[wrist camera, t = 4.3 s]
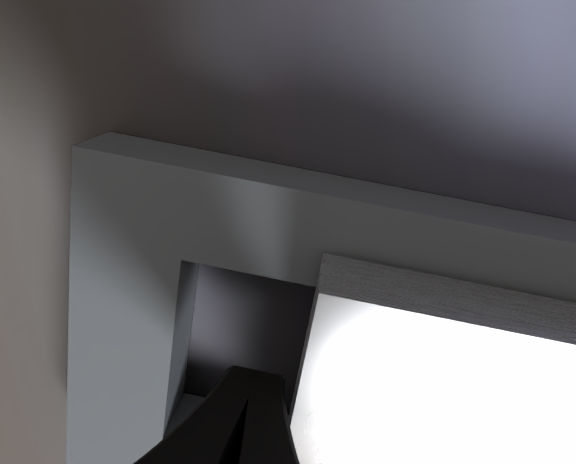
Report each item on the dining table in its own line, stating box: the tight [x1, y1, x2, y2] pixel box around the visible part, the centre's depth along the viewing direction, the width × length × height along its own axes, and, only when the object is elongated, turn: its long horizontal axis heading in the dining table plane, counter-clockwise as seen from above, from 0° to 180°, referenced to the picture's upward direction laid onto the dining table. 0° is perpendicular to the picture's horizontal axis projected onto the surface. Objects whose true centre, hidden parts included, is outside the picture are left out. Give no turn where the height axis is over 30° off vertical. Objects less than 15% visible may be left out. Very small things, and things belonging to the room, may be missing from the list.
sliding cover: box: [288, 253, 576, 464], centre depth 12 cm, size 8×8×2 cm
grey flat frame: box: [66, 132, 576, 464], centre depth 14 cm, size 18×10×2 cm, turn 80°
